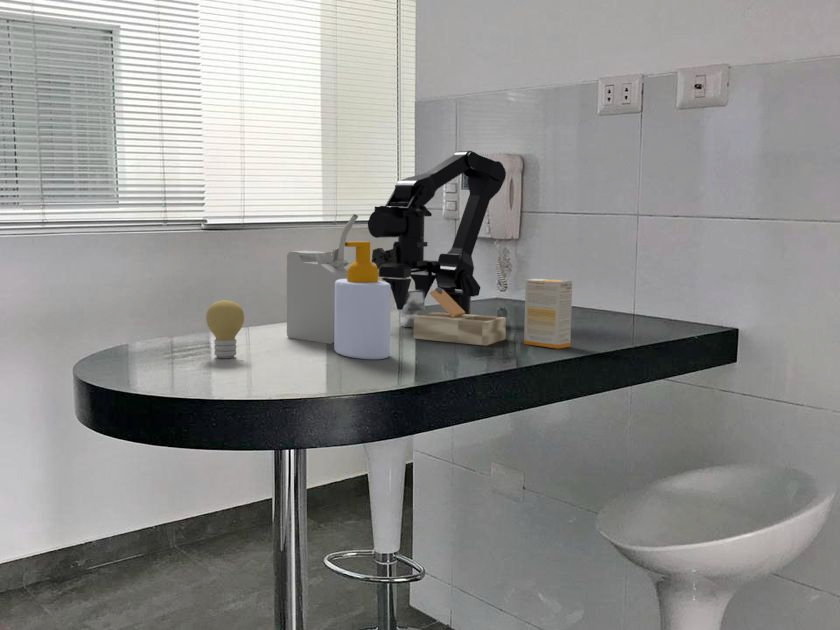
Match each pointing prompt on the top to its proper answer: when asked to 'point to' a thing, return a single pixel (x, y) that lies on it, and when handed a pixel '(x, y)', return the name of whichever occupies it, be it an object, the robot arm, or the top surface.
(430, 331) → the block
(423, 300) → the silver metal cylinder
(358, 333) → the soap bottle
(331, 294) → the fuel canister
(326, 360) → the top surface
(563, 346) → the supplement box
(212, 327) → the light bulb
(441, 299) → the orange knobbed panel
